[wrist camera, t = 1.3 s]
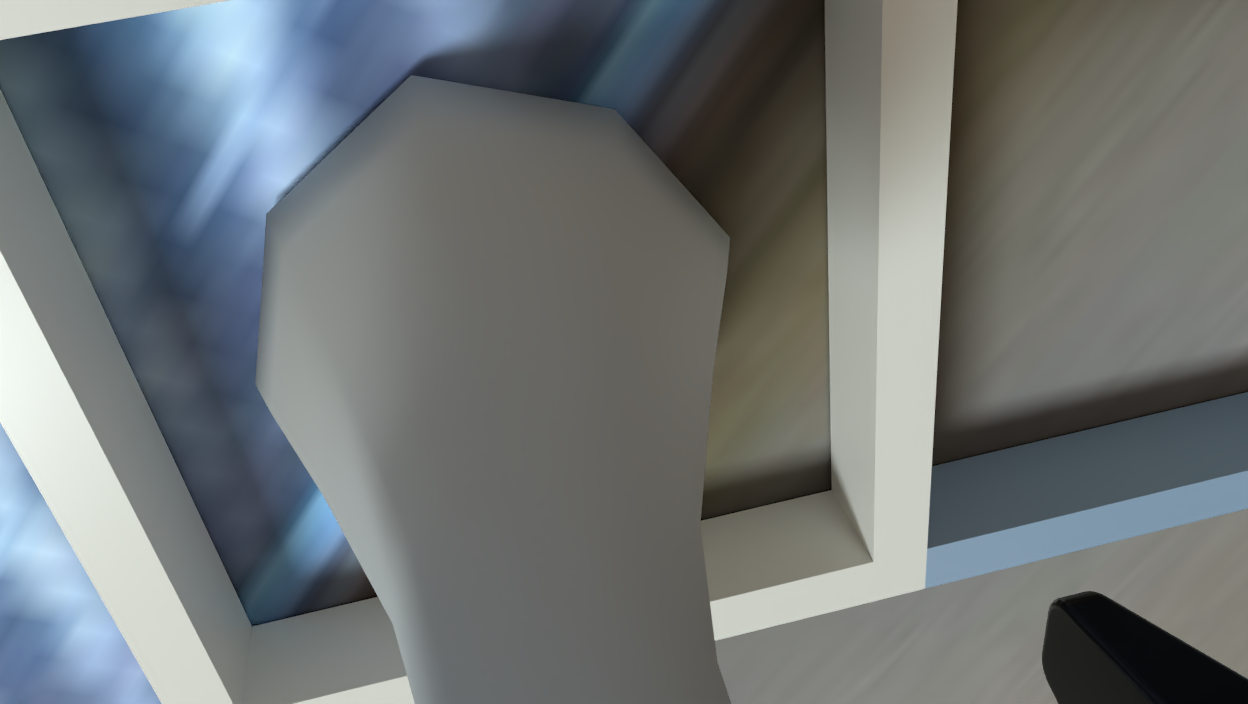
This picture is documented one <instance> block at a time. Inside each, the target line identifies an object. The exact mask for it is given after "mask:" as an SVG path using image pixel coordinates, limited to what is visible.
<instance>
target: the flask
mask: <svg viewBox="0 0 1248 704" xmlns="http://www.w3.org/2000/svg"><path fill="white" fill-rule="evenodd" d="M729 246H730V237H729V236H728V235H727V234H726V232H725V231H724V230H723V229H722V228H721V227H720V226H719V225H718V224H717V222H716V221H715V220H714V219H713V218H712V217H711V216H710V215H709V214H708V212H707V211H706V210H705V209H704V208H703V207H702V206H701V205H700V203H699V202H698V201H697V200H696V199H695V198H694V197H693V196H692V195H691V193H690V192H689V191H688V190H687V189H686V188H685V187H684V186H683V185H682V183H681V182H680V181H679V180H678V179H677V178H676V177H675V176H674V174H673V173H672V172H671V171H670V170H669V169H668V168H667V167H666V166H665V164H664V163H663V162H662V161H661V160H660V159H659V158H658V157H657V155H656V154H655V153H654V152H653V151H652V150H651V149H650V148H649V147H648V145H647V144H646V143H645V142H644V141H643V140H642V139H641V138H640V137H639V135H638V134H637V133H636V132H635V131H634V130H633V129H632V128H631V126H630V125H629V124H628V123H627V122H626V121H625V120H624V119H623V118H622V116H621V115H620V114H619V113H618V112H617V111H616V110H615V109H612V108H606V107H600V106H594V105H588V104H582V103H576V102H570V101H564V100H558V99H552V98H546V97H540V96H534V95H528V94H522V93H516V92H510V91H504V90H498V89H492V88H486V87H480V86H474V85H468V84H462V83H456V82H450V81H444V80H438V79H432V78H426V77H420V76H414V75H411V76H410V77H409V78H408V79H407V80H405V81H404V82H403V83H402V84H401V85H400V86H399V87H398V88H397V89H396V90H395V91H394V92H393V93H392V94H391V95H390V96H389V97H388V98H387V99H386V100H385V101H384V102H383V103H382V104H380V105H379V106H378V107H377V108H376V109H375V110H374V111H373V112H372V113H371V114H370V115H369V116H368V117H367V118H366V119H365V120H364V121H363V122H362V123H361V124H360V125H359V126H358V127H357V128H355V129H354V130H353V131H352V132H351V133H350V134H349V135H348V136H347V137H346V138H345V139H344V140H343V141H342V142H341V143H340V144H339V145H338V146H337V147H336V148H335V149H334V150H333V151H332V152H330V153H329V154H328V155H327V156H326V157H325V158H324V159H323V160H322V161H321V162H320V163H319V164H318V165H317V166H316V167H315V168H314V169H313V170H312V171H311V172H310V173H309V174H308V175H307V176H305V177H304V178H303V179H302V180H301V181H300V182H299V183H298V184H297V185H296V186H295V187H294V188H293V189H292V190H291V191H290V192H289V193H288V194H287V195H286V196H285V197H284V198H283V199H282V200H280V201H279V202H278V203H277V204H276V205H275V206H274V207H273V208H272V209H271V210H270V211H269V212H268V213H267V214H266V229H265V244H264V260H263V275H262V290H261V306H260V321H259V337H258V352H257V367H256V383H255V384H256V386H257V388H258V390H259V392H260V394H261V395H262V397H263V399H264V401H265V403H266V405H267V406H268V408H269V410H270V412H271V414H272V415H273V417H274V418H275V420H276V422H277V423H278V425H279V426H280V428H281V430H282V431H283V433H284V434H285V436H286V437H287V439H288V441H289V442H290V444H291V445H292V447H293V448H294V450H295V452H296V453H297V455H298V456H299V458H300V460H301V461H302V463H303V464H304V466H305V467H306V469H307V471H308V472H309V474H310V475H311V477H312V479H313V480H314V482H315V483H316V485H317V486H318V488H319V490H320V491H321V493H322V494H323V496H324V498H325V500H326V502H327V503H328V505H329V507H330V509H331V511H332V513H333V515H334V516H335V518H336V520H337V522H338V524H339V526H340V527H341V529H342V531H343V533H344V535H345V537H346V539H347V540H348V542H349V544H350V546H351V548H352V550H353V552H354V553H355V555H356V557H357V559H358V561H359V563H360V564H361V566H362V568H363V570H364V572H365V574H366V576H367V577H368V579H369V581H370V583H371V585H372V587H373V589H374V590H375V592H376V594H377V596H378V598H379V600H380V601H381V603H382V605H383V607H384V609H385V611H386V613H387V614H388V616H389V618H390V620H391V622H392V624H393V627H394V631H395V634H396V638H397V641H398V645H399V649H400V652H401V656H402V659H403V663H404V667H405V670H406V674H407V677H408V681H409V685H410V688H411V692H412V695H413V699H414V703H415V704H731V701H730V699H729V696H728V693H727V690H726V687H725V684H724V681H723V678H722V675H721V672H720V669H719V666H718V663H717V656H716V648H715V640H714V632H713V624H712V616H711V608H710V599H709V591H708V583H707V575H706V567H705V559H704V551H703V543H702V534H701V526H700V524H701V511H702V499H703V487H704V475H705V463H706V451H707V439H708V426H709V414H710V402H711V390H712V378H713V369H714V362H715V355H716V348H717V341H718V334H719V327H720V319H721V312H722V305H723V298H724V291H725V284H726V277H727V269H728V257H729Z"/></svg>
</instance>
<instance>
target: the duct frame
mask: <svg viewBox="0 0 1248 704" xmlns="http://www.w3.org/2000/svg"><path fill="white" fill-rule="evenodd" d="M223 1H229V0H0V40H3V39H9V38H15V37H21V36H27V35H32V34H38V33H44V32H50V31H56V30H61V29H67V28H73V27H79V26H84V25H90V24H96V23H102V22H108V21H113V20H119V19H125V18H131V17H136V16H142V15H148V14H154V13H160V12H165V11H171V10H177V9H183V8H188V7H194V6H200V5H206V4H212V3H217V2H223ZM957 3H958V0H825V68H826V138H827V208H828V278H829V348H830V417H831V487H832V490H829V491H825V492H821V493H817V494H812V495H808V496H804V497H800V498H795V499H791V500H787V501H783V502H778V503H774V504H770V505H766V506H761V507H757V508H753V509H749V510H744V511H740V512H736V513H732V514H727V515H723V516H719V517H715V518H710V519H706V520H702V521H701V524H700V526H701V534H702V543H703V551H704V559H705V567H706V575H707V583H708V591H709V599H710V608H711V616H712V624H713V632H714V640H715V641H716V640H720V639H724V638H728V637H732V636H736V635H740V634H744V633H748V632H752V631H756V630H760V629H764V628H768V627H772V626H776V625H780V624H785V623H789V622H793V621H797V620H801V619H805V618H809V617H813V616H817V615H821V614H825V613H829V612H833V611H837V610H841V609H845V608H849V607H853V606H857V605H861V604H865V603H869V602H873V601H877V600H881V599H885V598H889V597H893V596H897V595H901V594H905V593H909V592H913V591H917V590H921V589H925V588H930V587H934V586H938V585H942V584H946V583H950V582H954V581H958V580H962V579H966V578H970V577H974V576H978V575H982V574H986V573H990V572H994V571H998V570H1002V569H1006V568H1010V567H1014V566H1018V565H1022V564H1026V563H1030V562H1034V561H1038V560H1042V559H1046V558H1050V557H1054V556H1058V555H1062V554H1066V553H1070V552H1075V551H1079V550H1083V549H1087V548H1091V547H1095V546H1099V545H1103V544H1107V543H1111V542H1115V541H1119V540H1123V539H1127V538H1131V537H1135V536H1139V535H1143V534H1147V533H1151V532H1155V531H1159V530H1163V529H1167V528H1171V527H1175V526H1179V525H1183V524H1187V523H1191V522H1195V521H1199V520H1203V519H1207V518H1211V517H1215V516H1220V515H1224V514H1228V513H1232V512H1236V511H1240V510H1244V509H1248V392H1246V393H1241V394H1237V395H1233V396H1229V397H1224V398H1220V399H1216V400H1212V401H1207V402H1203V403H1199V404H1195V405H1190V406H1186V407H1182V408H1178V409H1173V410H1169V411H1165V412H1161V413H1156V414H1152V415H1148V416H1144V417H1139V418H1135V419H1131V420H1127V421H1122V422H1118V423H1114V424H1110V425H1105V426H1101V427H1097V428H1093V429H1088V430H1084V431H1080V432H1076V433H1071V434H1067V435H1063V436H1059V437H1054V438H1050V439H1046V440H1042V441H1037V442H1033V443H1029V444H1025V445H1020V446H1016V447H1012V448H1008V449H1003V450H999V451H995V452H991V453H987V454H982V455H978V456H974V457H970V458H965V459H961V460H957V461H953V462H948V463H944V464H940V465H936V466H932V453H933V435H934V417H935V399H936V381H937V363H938V345H939V327H940V309H941V291H942V273H943V255H944V237H945V219H946V201H947V183H948V165H949V147H950V129H951V111H952V93H953V75H954V57H955V39H956V21H957ZM0 422H1V424H2V426H3V428H4V429H5V431H6V433H7V435H8V436H9V438H10V440H11V442H12V443H13V445H14V447H15V449H16V450H17V452H18V454H19V456H20V457H21V459H22V461H23V463H24V464H25V466H26V468H27V469H28V471H29V473H30V475H31V476H32V478H33V480H34V482H35V483H36V485H37V487H38V489H39V490H40V492H41V494H42V496H43V497H44V499H45V501H46V503H47V504H48V506H49V508H50V510H51V511H52V513H53V515H54V517H55V518H56V520H57V522H58V524H59V525H60V527H61V529H62V531H63V532H64V534H65V536H66V538H67V539H68V541H69V543H70V545H71V546H72V548H73V550H74V551H75V553H76V555H77V557H78V558H79V560H80V562H81V564H82V565H83V567H84V569H85V571H86V572H87V574H88V576H89V578H90V579H91V581H92V583H93V585H94V586H95V588H96V590H97V592H98V593H99V595H100V597H101V599H102V600H103V602H104V604H105V606H106V607H107V609H108V611H109V613H110V614H111V616H112V618H113V620H114V621H115V623H116V625H117V626H118V628H119V630H120V632H121V633H122V635H123V637H124V639H125V640H126V642H127V644H128V646H129V647H130V649H131V651H132V653H133V654H134V656H135V658H136V660H137V661H138V663H139V665H140V667H141V668H142V670H143V672H144V674H145V675H146V677H147V679H148V681H149V682H150V684H151V686H152V688H153V689H154V691H155V693H156V695H157V696H158V698H159V700H160V702H161V703H162V704H415V703H414V699H413V695H412V692H411V688H410V685H409V681H408V677H407V674H406V670H405V667H404V663H403V659H402V656H401V652H400V649H399V645H398V641H397V638H396V634H395V631H394V627H393V624H392V622H391V620H390V618H389V616H388V614H387V613H386V611H385V609H384V607H383V605H382V603H381V601H380V600H379V598H378V597H375V598H371V599H366V600H362V601H358V602H354V603H349V604H345V605H341V606H337V607H332V608H328V609H324V610H320V611H315V612H311V613H307V614H303V615H299V616H294V617H290V618H286V619H282V620H277V621H273V622H269V623H265V624H260V625H256V626H252V625H251V623H250V621H249V619H248V617H247V615H246V613H245V610H244V608H243V606H242V604H241V602H240V600H239V598H238V596H237V593H236V591H235V589H234V587H233V585H232V583H231V581H230V578H229V576H228V574H227V572H226V570H225V568H224V566H223V563H222V561H221V559H220V557H219V555H218V553H217V551H216V549H215V546H214V544H213V542H212V540H211V538H210V536H209V534H208V531H207V529H206V527H205V525H204V523H203V521H202V519H201V517H200V514H199V512H198V510H197V508H196V506H195V504H194V502H193V499H192V497H191V495H190V493H189V491H188V489H187V487H186V484H185V482H184V480H183V478H182V476H181V474H180V472H179V470H178V467H177V465H176V463H175V461H174V459H173V457H172V455H171V452H170V450H169V448H168V446H167V444H166V442H165V440H164V437H163V435H162V433H161V431H160V429H159V427H158V425H157V423H156V420H155V418H154V416H153V414H152V412H151V410H150V408H149V405H148V403H147V401H146V399H145V397H144V395H143V393H142V391H141V388H140V386H139V384H138V382H137V380H136V378H135V376H134V373H133V371H132V369H131V367H130V365H129V363H128V361H127V358H126V356H125V354H124V352H123V350H122V348H121V346H120V344H119V341H118V339H117V337H116V335H115V333H114V331H113V329H112V326H111V324H110V322H109V320H108V318H107V316H106V314H105V311H104V309H103V307H102V305H101V303H100V301H99V299H98V297H97V294H96V292H95V290H94V288H93V286H92V284H91V282H90V279H89V277H88V275H87V273H86V271H85V269H84V267H83V265H82V262H81V260H80V258H79V256H78V254H77V252H76V250H75V247H74V245H73V243H72V241H71V239H70V237H69V235H68V232H67V230H66V228H65V226H64V224H63V222H62V220H61V218H60V215H59V213H58V211H57V209H56V207H55V205H54V203H53V200H52V198H51V196H50V194H49V192H48V190H47V188H46V185H45V183H44V181H43V179H42V177H41V175H40V173H39V171H38V168H37V166H36V164H35V162H34V160H33V158H32V156H31V153H30V151H29V149H28V147H27V145H26V143H25V141H24V139H23V136H22V134H21V132H20V130H19V128H18V126H17V124H16V121H15V119H14V117H13V115H12V113H11V111H10V109H9V106H8V104H7V102H6V100H5V98H4V96H3V94H2V92H1V89H0Z"/></svg>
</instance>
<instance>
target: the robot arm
mask: <svg viewBox="0 0 1248 704" xmlns="http://www.w3.org/2000/svg"><path fill="white" fill-rule="evenodd" d="M1042 664H1043V669H1044V673H1045V676H1046V679H1047V681H1048V683H1049V686H1050V688H1051V690H1052V692H1053V694H1054V696H1055V698H1056V700H1057V702H1058V704H1248V679H1247V678H1245V677H1243V676H1242V675H1240V674H1238V673H1237V672H1235V671H1233V670H1231V669H1230V668H1228V667H1226V666H1225V665H1223V664H1221V663H1219V662H1218V661H1216V660H1214V659H1213V658H1211V657H1209V656H1207V655H1206V654H1204V653H1202V652H1201V651H1199V650H1197V649H1195V648H1194V647H1192V646H1190V645H1189V644H1187V643H1185V642H1183V641H1182V640H1180V639H1178V638H1177V637H1175V636H1173V635H1171V634H1170V633H1168V632H1166V631H1165V630H1163V629H1161V628H1159V627H1158V626H1156V625H1154V624H1152V623H1151V622H1149V621H1147V620H1146V619H1144V618H1142V617H1140V616H1139V615H1137V614H1135V613H1134V612H1132V611H1130V610H1128V609H1127V608H1125V607H1123V606H1122V605H1120V604H1118V603H1116V602H1115V601H1113V600H1111V599H1110V598H1108V597H1106V596H1104V595H1102V594H1100V593H1097V592H1092V591H1088V592H1082V593H1078V594H1074V595H1070V596H1066V597H1062V598H1058V599H1056V600H1054V601H1053V603H1052V604H1051V605H1050V607H1049V611H1048V618H1047V624H1046V631H1045V638H1044V645H1043V651H1042Z"/></svg>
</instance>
